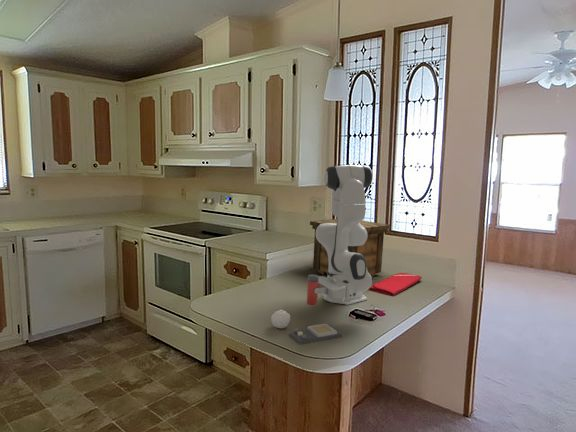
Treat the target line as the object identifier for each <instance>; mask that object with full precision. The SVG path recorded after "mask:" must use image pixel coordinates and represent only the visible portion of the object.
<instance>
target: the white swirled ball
mask: <svg viewBox="0 0 576 432" xmlns="http://www.w3.org/2000/svg"><path fill="white" fill-rule="evenodd" d="M270 321H271V323H272V325H273V326H274V327H275V328H277V329H285V328H286V327H288V325H289V324H290V321H291V315H290V313H288V311H286V310H283V309H279V310H276V311H274V313H272V314H271V317H270Z"/></svg>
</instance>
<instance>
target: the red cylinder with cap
mask: <svg viewBox="0 0 576 432" xmlns="http://www.w3.org/2000/svg"><path fill="white" fill-rule="evenodd" d="M319 276H320V275H318V274H313V273H312V274H308V275H307V284H308V285H307V284H306V289H307V290H306V293H307V294H306V305H308V306H316V305H318V294H319V293H314V292H313V291H314V288H318V277H319Z"/></svg>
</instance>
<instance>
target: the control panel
mask: <svg viewBox="0 0 576 432" xmlns="http://www.w3.org/2000/svg"><path fill="white" fill-rule="evenodd" d="M342 334H343V333H342V332H340V331H339V330H337V329H336V328H334V327H333V326H332V325H329V324H327V323H319V324H314V325H308V326H307V327H306V328H305V329H299V328H294V329H293V330H292V331H289V332H288V335H289V336H290V337H291V338H292V339H294V340H295V341H296V342H297V344H299V345H302V344H308V343H315V342H319V341H325V340H329V339H335V338H340V337H341V338H342Z"/></svg>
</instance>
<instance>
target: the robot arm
mask: <svg viewBox="0 0 576 432" xmlns="http://www.w3.org/2000/svg"><path fill="white" fill-rule="evenodd" d="M373 175H374V174H373V171H372V169H371V167H370V166H368V165H360V164H359V165H358V164H346V165H337V166H336V165H332V166H328V167H327V168H326V170H325V172H324V176H323V177H324V183H325V186H326V187H327V188H328V189H331V190H332V191H331V192H332V193H331V213H332V215H333V216H334V217H335V218H336V219H338V221H337V223H324V224H320V225H319V226H318V227H317V229H316V238H317V240H318V242H319V243H321V244H322V245H323V246H324V248H325V249H326V251H327V254H328V262H329V265H328V271H327V274H326V276H325V275H324V276H323V275H322V276H320V275H318V276H319V277H318V288H314V291H313V292H314V293H318V294H324V296H323V299H324V301H326V302H329V303H332V304H333V303H335V304H341V305H342V304H343V305H347V306H348V305H353V304H356V303H360V302H361V303H362V302H364V301H367V300H368V298H367V297H368V296H366V295H364V293H363V292H365V291H369V290H368V289H369V288H370V287H371V286H373V276H372V277H371V275H370V274H369V273H368V270H367V267H366V265H367V263H366V259H365V257H364V256H363V255H362V254H360V253H354V252H349V251H348V246H361V245H363V244H364V243H365V242H366V240H367V236H368V235H367V231H366V229H365V228H364V227H363V226H362V225H361V224H360V222H361V221H364V219H365V216H366V207H367V206H366V203H367V202H366V194H365V192H366V191H365V189H366V188H368V187H370V186H371V185H372V182H373V178H374V177H373ZM307 285H308V283H307V284H306V286H307Z"/></svg>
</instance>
